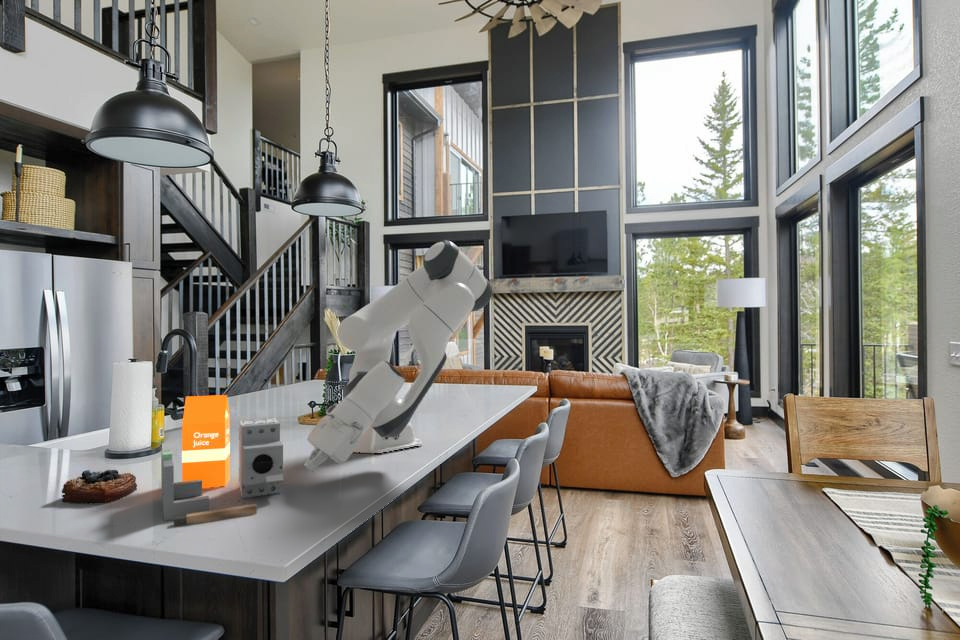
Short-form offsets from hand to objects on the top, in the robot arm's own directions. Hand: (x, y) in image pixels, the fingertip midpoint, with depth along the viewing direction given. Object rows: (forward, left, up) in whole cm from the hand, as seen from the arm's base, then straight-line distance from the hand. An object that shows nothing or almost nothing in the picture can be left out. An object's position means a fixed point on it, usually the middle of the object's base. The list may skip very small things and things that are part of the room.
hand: (307, 468), depth 126 cm
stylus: (+19, +10, -4) cm, 22 cm away
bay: (+24, -1, -4) cm, 24 cm away
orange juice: (+19, -16, -4) cm, 25 cm away
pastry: (+39, -17, -5) cm, 43 cm away
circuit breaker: (+10, -1, -5) cm, 11 cm away
